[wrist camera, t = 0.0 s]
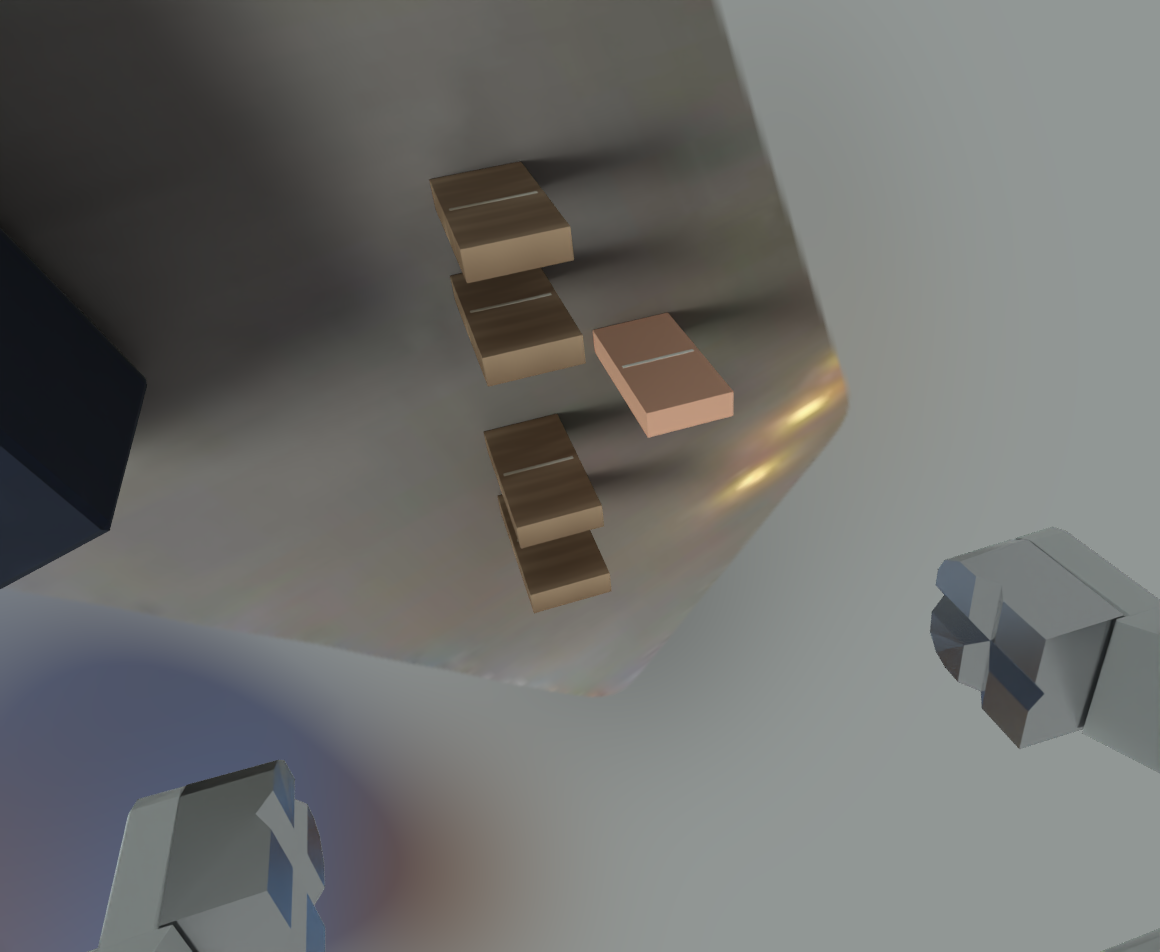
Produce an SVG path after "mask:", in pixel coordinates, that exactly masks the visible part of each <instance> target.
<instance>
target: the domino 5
mask: <svg viewBox="0 0 1160 952" xmlns="http://www.w3.org/2000/svg"><path fill="white" fill-rule="evenodd" d="M593 337H594V347H595V353H596V355H597V356H598V358H599V359H600V361H601V363H602V364H603V366H604V367H605V369H606V371H607V372H608V374H609V375H610V377H611V379H612V380H613V382H614V384H615V385H616V387H617V388H618V390H619V392H620V393H621V395H622V396H623V398H624V400H625V401H626V403H627V404H628V406H629V408H630V409H631V411H632V412H633V414H634V416H635V417H636V419H637V421H638V422H639V424H640V425H641V427H642V429H643V430H644V432H645V433H646V435H647V437H648V438H649V437H653V436H656V435H660V434H664V433H668V432H672V431H676V430H680V429H684V428H688V427H691V426H695V425H699V424H703V423H707V422H711V421H715V420H719V419H723V418H726V417H730V416H733V390H732V389H731V388H730V387H729V386H728V384H727V383H726V382H725V381H724V380H723V378H722V377H721V376H720V375H719V374H718V372H717V371H716V370H715V369H714V368H713V366H712V365H711V364H710V363H709V362H708V360H707V359H706V358H705V357H704V356H703V354H702V353H701V352H700V351H699V350H698V348H697V347H696V346H695V345H694V344H693V342H692V341H691V340H690V339H689V337H688V336H687V335H686V334H685V333H684V331H683V330H682V329H681V328H680V327H679V325H678V324H677V323H676V322H675V321H674V319H673V318H672V317H671V316H670V315H669V313H664V314H659V315H655V316H651V317H646V318H642V319H638V320H634V321H629V322H625V323H621V324H616V325H612V326H608V327H604V328H599V329H595V330H593Z"/></svg>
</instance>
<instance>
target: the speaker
mask: <svg viewBox="0 0 1160 952" xmlns="http://www.w3.org/2000/svg"><path fill="white" fill-rule="evenodd" d="M146 387H147V384H146V379H145V377H144V376H143V375H142V374H141V373H140V372H139V371H138V370H137V369H136V368H135V367H134V366H133V365H132V364H131V363H130V362H129V361H128V360H127V359H126V358H125V357H124V356H123V355H122V354H121V353H120V352H119V350H118V349H117V348H116V347H115V346H114V345H113V344H112V343H111V342H110V341H109V340H108V339H107V338H106V337H105V336H104V335H103V334H102V333H101V332H100V331H99V330H98V329H97V328H96V327H95V326H94V325H93V323H92V322H91V321H90V320H89V319H88V318H87V317H86V316H85V315H84V314H83V313H82V312H81V311H80V310H79V309H78V308H77V307H76V306H75V305H74V304H73V303H72V302H71V301H70V300H69V299H68V298H67V296H66V295H65V294H64V293H63V292H62V291H61V290H60V289H59V288H58V287H57V286H56V285H55V284H54V283H53V282H52V281H51V280H50V279H49V278H48V277H47V276H46V275H45V274H44V273H43V272H42V271H41V270H40V268H39V267H38V266H37V265H36V264H35V263H34V262H33V261H32V260H31V259H30V258H29V257H28V256H27V255H26V254H25V253H24V252H23V251H22V250H21V249H20V248H19V247H18V246H17V245H16V244H15V243H14V241H13V240H12V239H11V238H10V237H9V236H8V235H7V234H6V233H5V232H4V231H3V230H2V229H1V228H0V589H2V588H3V587H5V586H7V585H9V584H11V583H13V582H15V581H17V580H18V579H20V578H22V577H24V576H26V575H28V574H30V573H31V572H33V571H35V570H37V569H39V568H41V567H43V566H44V565H46V564H48V563H50V562H52V561H54V560H56V559H57V558H59V557H61V556H63V555H65V554H67V553H69V552H70V551H72V550H74V549H76V548H78V547H80V546H82V545H83V544H85V543H87V542H89V541H91V540H93V539H95V538H97V537H98V536H100V535H102V534H104V533H106V532H108V531H110V527H111V523H112V519H113V515H114V511H115V507H116V504H117V500H118V496H119V492H120V488H121V484H122V480H123V476H124V473H125V469H126V465H127V461H128V457H129V453H130V449H131V445H132V442H133V438H134V434H135V430H136V426H137V422H138V418H139V414H140V411H141V407H142V403H143V399H144V395H145V391H146Z"/></svg>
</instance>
